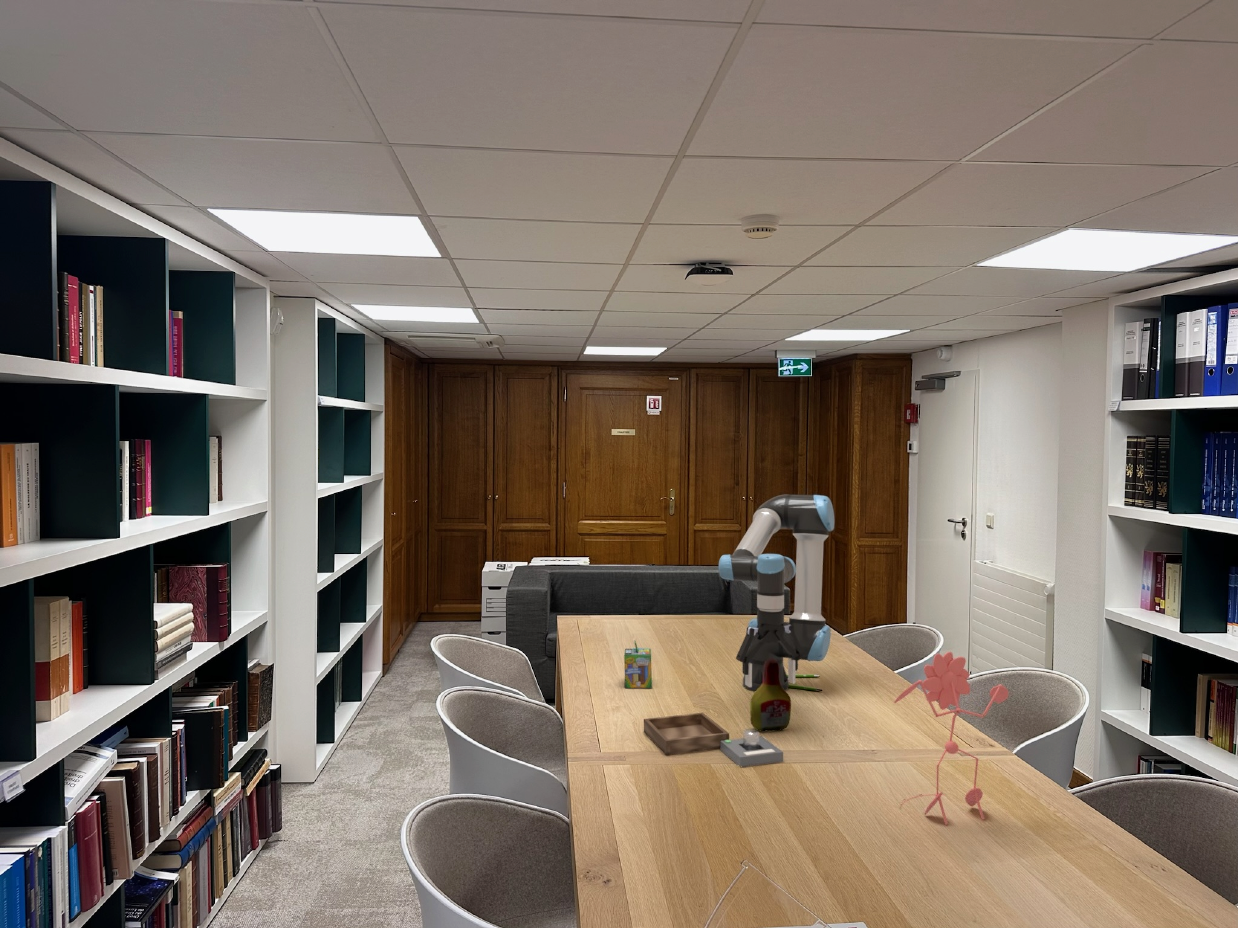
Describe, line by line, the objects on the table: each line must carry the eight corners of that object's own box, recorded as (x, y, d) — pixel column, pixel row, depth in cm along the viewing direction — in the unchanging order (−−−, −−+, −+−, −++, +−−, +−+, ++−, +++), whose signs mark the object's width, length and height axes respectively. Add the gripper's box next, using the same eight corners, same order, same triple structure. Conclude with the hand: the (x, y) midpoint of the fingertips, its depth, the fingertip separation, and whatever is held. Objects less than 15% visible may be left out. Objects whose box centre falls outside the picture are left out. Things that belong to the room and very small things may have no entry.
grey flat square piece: (761, 745, 218) (761, 734, 218) (783, 761, 206) (783, 750, 206) (720, 750, 214) (720, 739, 214) (740, 767, 203) (740, 755, 203)
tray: (702, 725, 233) (702, 712, 233) (729, 747, 216) (729, 733, 216) (643, 732, 228) (643, 718, 228) (666, 755, 211) (665, 740, 211)
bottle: (788, 725, 233) (788, 656, 233) (794, 732, 227) (794, 662, 227) (747, 726, 232) (747, 657, 232) (752, 734, 226) (752, 663, 226)
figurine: (1020, 816, 175) (1017, 654, 175) (915, 831, 168) (912, 663, 168) (972, 789, 190) (970, 640, 190) (874, 802, 183) (872, 647, 183)
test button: (754, 745, 213) (754, 728, 213) (761, 750, 209) (761, 733, 209) (740, 746, 212) (740, 730, 212) (747, 752, 208) (747, 735, 208)
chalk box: (651, 688, 269) (651, 644, 269) (624, 688, 269) (624, 644, 269) (651, 680, 278) (651, 638, 278) (625, 680, 279) (624, 638, 278)
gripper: (802, 604, 236) (802, 677, 236) (724, 609, 229) (724, 683, 229) (816, 609, 229) (816, 683, 229) (736, 613, 222) (735, 691, 222)
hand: (770, 684), depth 229 cm, fingers open, 13 cm apart
